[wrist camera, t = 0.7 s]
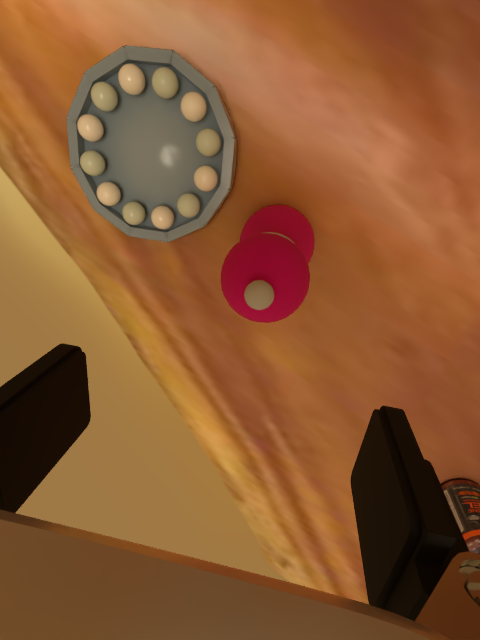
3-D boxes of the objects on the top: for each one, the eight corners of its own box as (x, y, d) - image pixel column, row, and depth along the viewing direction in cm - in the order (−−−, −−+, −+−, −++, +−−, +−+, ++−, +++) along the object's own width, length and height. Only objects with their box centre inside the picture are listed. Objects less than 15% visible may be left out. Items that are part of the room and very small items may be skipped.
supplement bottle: (488, 480, 46) (540, 569, 36) (475, 511, 49) (521, 602, 38) (440, 473, 47) (478, 559, 37) (430, 504, 50) (463, 592, 39)
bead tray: (75, 47, 34) (51, 34, 31) (246, 64, 32) (240, 52, 29) (87, 224, 41) (69, 229, 38) (228, 246, 39) (221, 253, 36)
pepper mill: (294, 278, 39) (286, 374, 21) (236, 251, 39) (179, 324, 21) (325, 218, 36) (347, 272, 18) (263, 189, 36) (223, 213, 18)
